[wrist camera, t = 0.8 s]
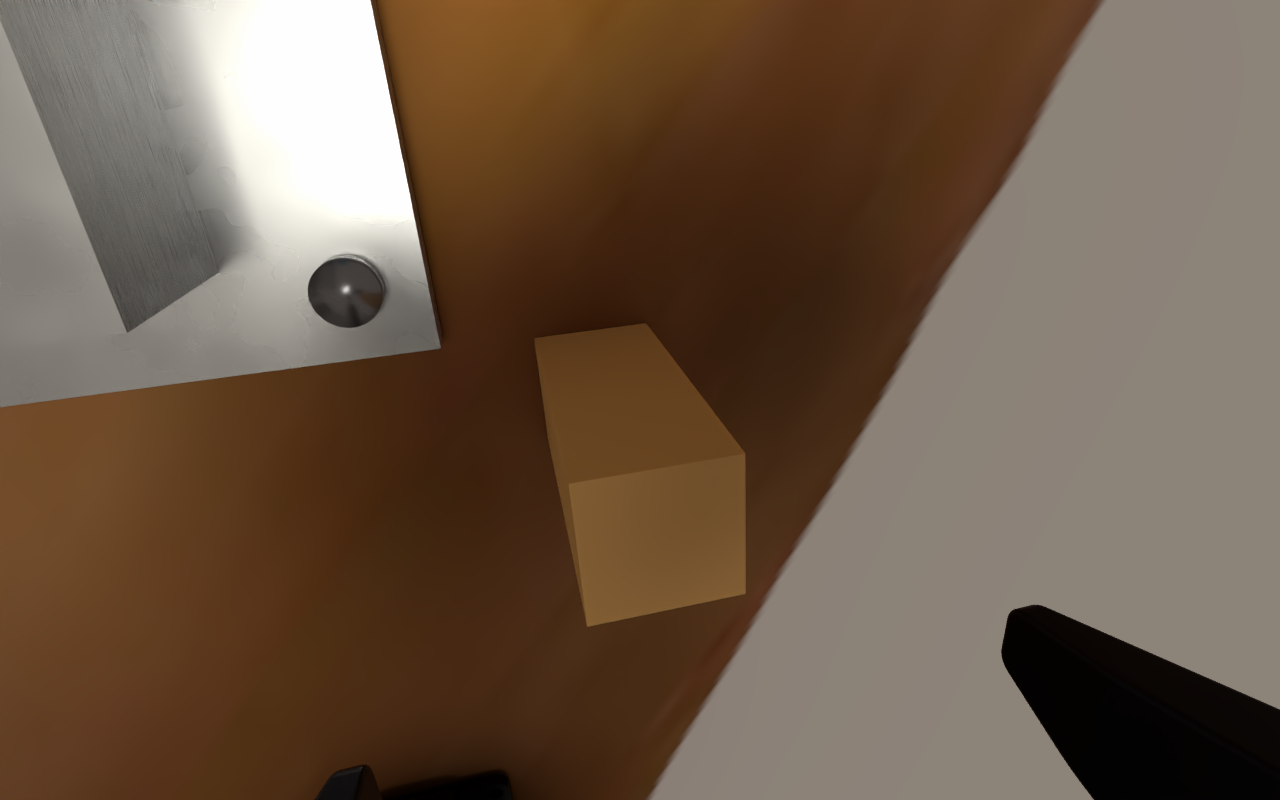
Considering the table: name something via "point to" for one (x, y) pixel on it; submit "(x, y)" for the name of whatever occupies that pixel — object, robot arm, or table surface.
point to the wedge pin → (641, 475)
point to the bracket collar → (200, 194)
